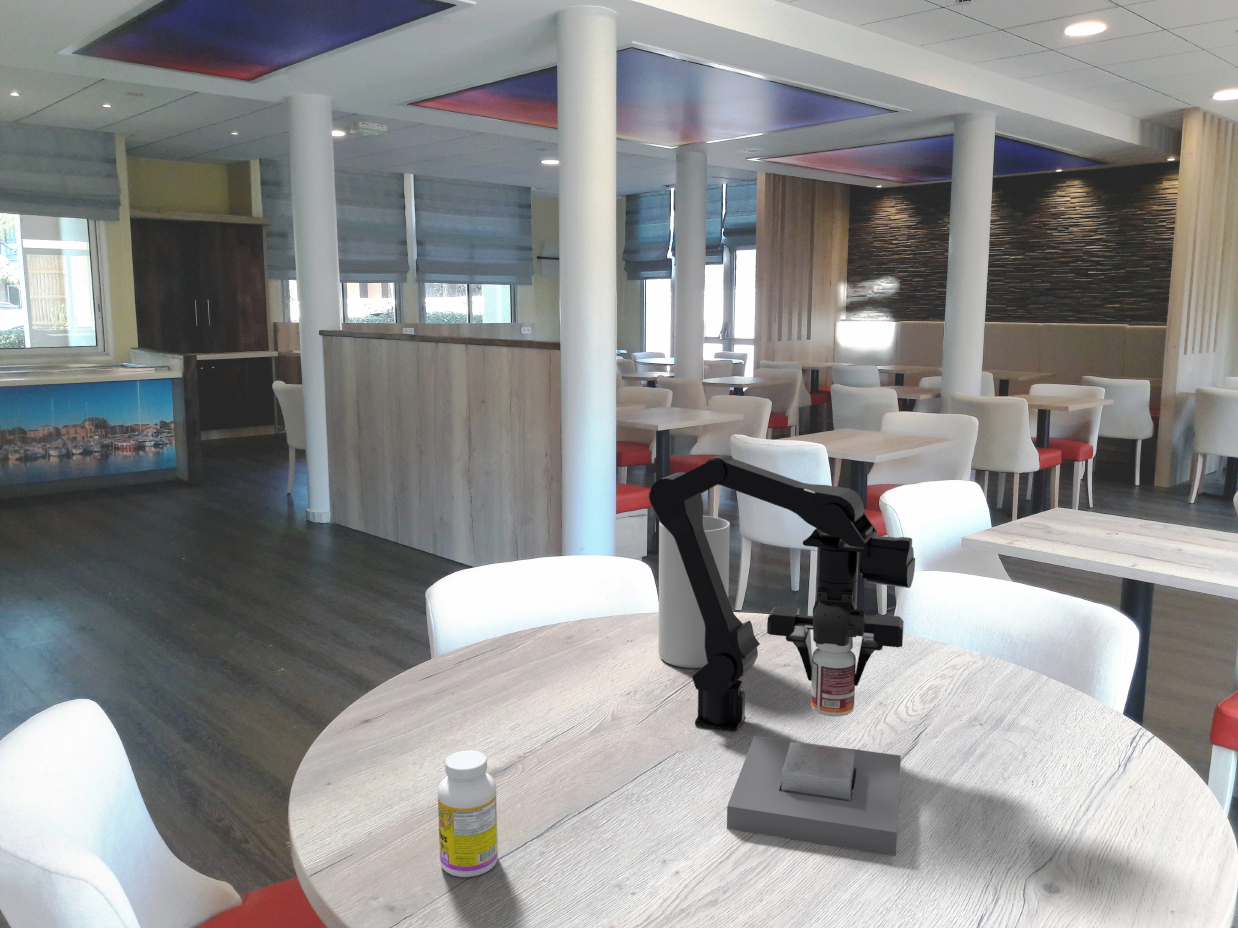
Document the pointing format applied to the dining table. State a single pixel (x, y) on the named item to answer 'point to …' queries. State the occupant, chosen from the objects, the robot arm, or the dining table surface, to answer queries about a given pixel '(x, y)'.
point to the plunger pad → (818, 771)
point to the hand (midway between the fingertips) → (833, 682)
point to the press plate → (818, 801)
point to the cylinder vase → (686, 596)
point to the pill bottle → (833, 679)
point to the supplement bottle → (467, 816)
